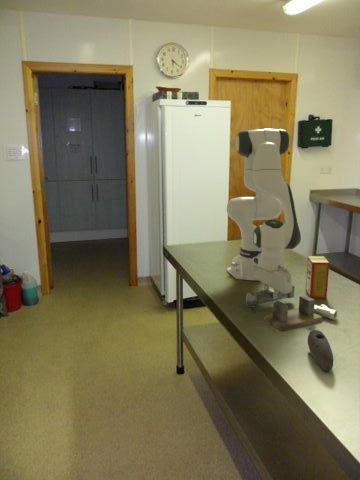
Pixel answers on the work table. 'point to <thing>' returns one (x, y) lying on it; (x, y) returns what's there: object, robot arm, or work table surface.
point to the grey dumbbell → (265, 297)
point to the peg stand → (293, 314)
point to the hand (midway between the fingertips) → (270, 296)
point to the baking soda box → (317, 277)
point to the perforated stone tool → (320, 350)
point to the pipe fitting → (325, 311)
